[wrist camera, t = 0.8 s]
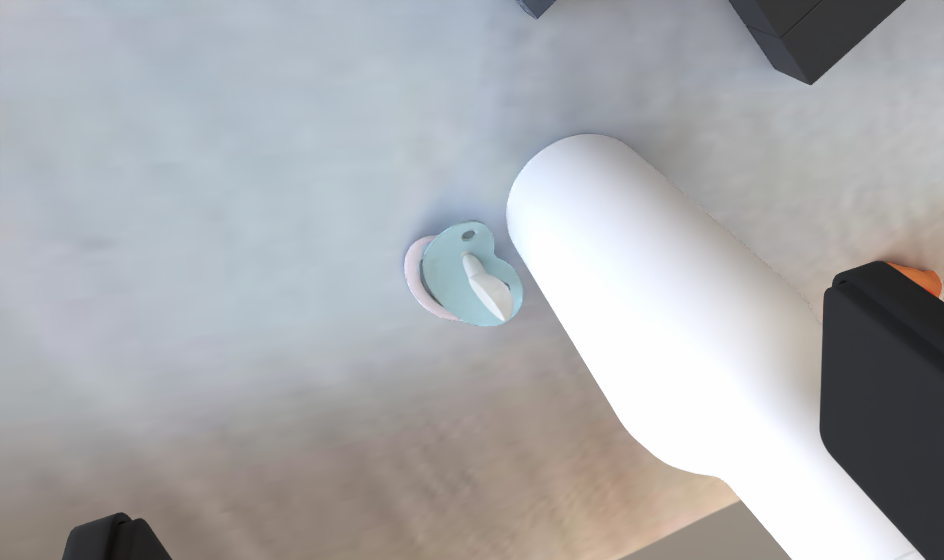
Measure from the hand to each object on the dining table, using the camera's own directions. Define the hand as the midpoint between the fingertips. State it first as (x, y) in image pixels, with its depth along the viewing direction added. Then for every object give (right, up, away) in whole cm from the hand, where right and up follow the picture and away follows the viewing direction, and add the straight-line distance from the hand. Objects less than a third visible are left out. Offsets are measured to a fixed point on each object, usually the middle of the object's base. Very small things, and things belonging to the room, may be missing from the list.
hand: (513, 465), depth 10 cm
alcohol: (+5, +7, +36) cm, 37 cm away
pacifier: (-2, +3, +36) cm, 36 cm away
